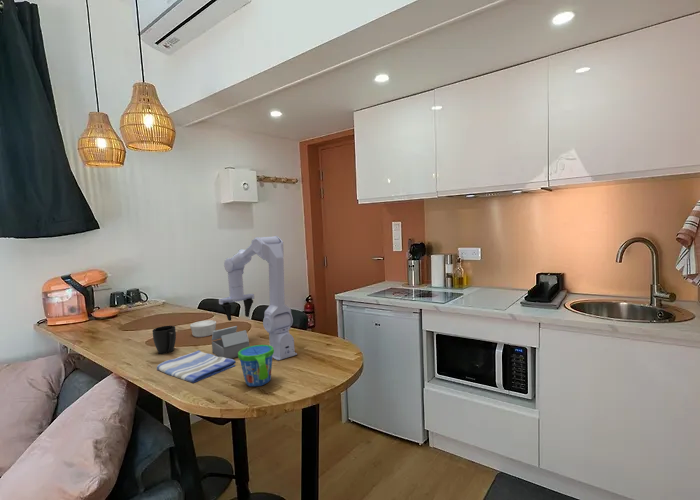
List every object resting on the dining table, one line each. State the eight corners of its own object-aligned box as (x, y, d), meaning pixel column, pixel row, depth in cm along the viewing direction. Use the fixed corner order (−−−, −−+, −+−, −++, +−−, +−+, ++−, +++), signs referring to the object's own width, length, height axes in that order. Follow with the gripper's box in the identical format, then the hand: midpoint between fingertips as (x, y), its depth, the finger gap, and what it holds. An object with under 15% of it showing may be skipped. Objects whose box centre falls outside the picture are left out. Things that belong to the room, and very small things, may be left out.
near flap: (248, 341, 139) (249, 340, 139) (224, 347, 133) (224, 347, 133) (245, 330, 140) (245, 329, 140) (220, 336, 134) (221, 335, 134)
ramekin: (218, 335, 167) (217, 323, 167) (191, 339, 162) (190, 328, 162) (215, 329, 177) (214, 318, 177) (190, 333, 173) (189, 322, 172)
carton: (250, 353, 140) (249, 341, 139) (224, 360, 133) (223, 348, 133) (237, 346, 149) (236, 335, 149) (212, 353, 143) (211, 341, 142)
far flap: (237, 326, 147) (236, 325, 147) (213, 332, 141) (212, 331, 141) (235, 334, 149) (235, 334, 149) (212, 340, 143) (211, 339, 143)
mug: (162, 358, 139) (160, 334, 138) (151, 352, 148) (149, 329, 147) (184, 352, 145) (182, 328, 144) (172, 346, 153) (170, 324, 153)
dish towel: (200, 355, 142) (199, 348, 142) (238, 366, 128) (237, 358, 128) (154, 371, 128) (154, 363, 128) (192, 385, 114) (191, 376, 114)
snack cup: (238, 376, 118) (235, 345, 117) (271, 370, 122) (269, 340, 121) (242, 396, 104) (240, 361, 103) (280, 388, 107) (277, 354, 107)
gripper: (248, 282, 161) (250, 313, 162) (215, 287, 152) (217, 320, 153) (255, 284, 155) (257, 316, 156) (221, 289, 146) (224, 323, 147)
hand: (238, 318), depth 154 cm, fingers open, 7 cm apart
